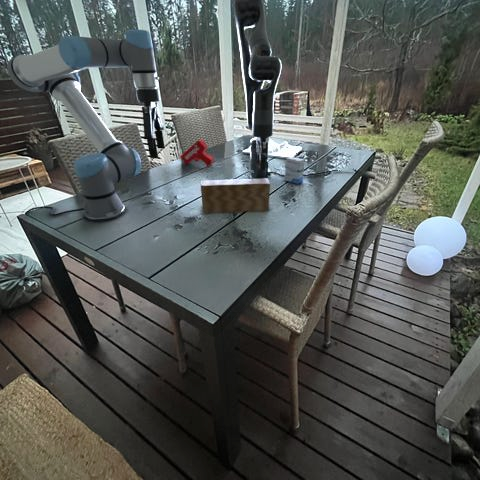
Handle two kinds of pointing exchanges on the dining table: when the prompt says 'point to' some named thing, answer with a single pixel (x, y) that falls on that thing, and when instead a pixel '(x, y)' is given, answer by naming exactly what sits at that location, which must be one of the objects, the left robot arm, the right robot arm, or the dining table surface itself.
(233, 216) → the dining table surface
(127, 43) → the left robot arm
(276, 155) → the relief map
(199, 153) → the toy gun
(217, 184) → the box
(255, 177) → the right robot arm
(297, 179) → the ink box
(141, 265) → the dining table surface
